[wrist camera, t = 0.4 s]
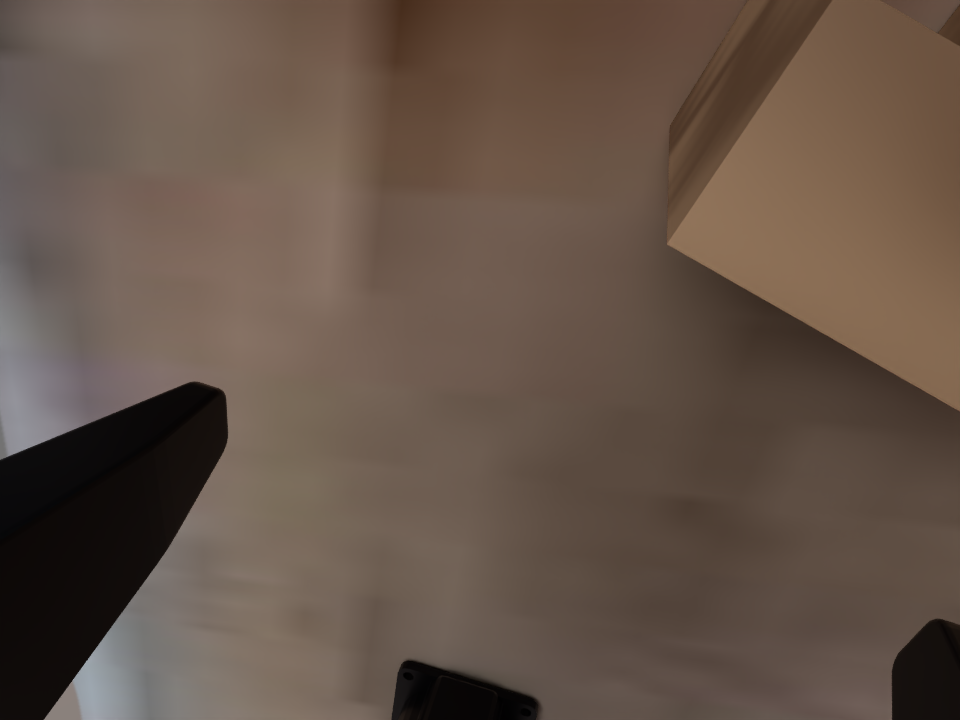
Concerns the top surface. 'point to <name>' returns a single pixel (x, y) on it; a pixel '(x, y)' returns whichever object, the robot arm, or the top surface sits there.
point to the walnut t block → (832, 177)
